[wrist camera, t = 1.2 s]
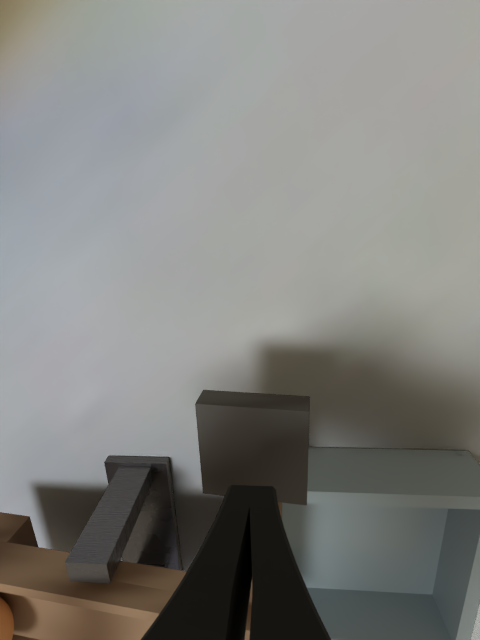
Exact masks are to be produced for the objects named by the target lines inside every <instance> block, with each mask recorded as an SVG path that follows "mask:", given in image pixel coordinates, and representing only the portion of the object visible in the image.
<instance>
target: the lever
mask: <svg viewBox="0 0 480 640" xmlns="http://www.w3.org/2000/svg"><path fill="white" fill-rule="evenodd" d="M195 405H196V417H197V428H198V440H199V451H200V463H201V474H202V486H203V493H205V494H214V495H222V496H225V495H226V492H227V489H228V487H229V486H231V485H249V486H273V487H274V488H275V489H276V494H277V501H278V506H279V510H280V515H281V518H282V503H290V504H298V505H307V486H308V449H309V413H310V397H308V396H292V395H276V394H260V393H244V392H228V391H212V390H203V391H202V393H201V395H200V397H199V398H198V400H197V402H196V404H195ZM69 554H70V552H64V551H58V550H52V549H45V548H39V547H38V544H37V541H36V537H35V534H34V530H33V527H32V523H31V520H30V517H29V516H22V515H15V514H8V513H1V512H0V597H1V598H2V599H3V600H4V601H5V602H6V603H7V604H8V605H9V607H10V609H11V611H12V614H13V619H14V631H13V637H12V640H141V638H142V637H143V636H144V634H145V633H146V632H147V630H148V629H149V628H150V626H151V625H152V624H153V622H154V621H155V619H156V618H157V617H158V615H159V614H160V612H161V611H162V609H163V608H164V607H165V605H166V604H167V602H168V601H169V599H170V598H171V596H172V595H173V593H174V592H175V590H176V588H177V587H178V585H179V584H180V582H181V581H182V579H183V577H184V576H185V574H186V572H187V571H180V570H174V569H168V568H162V567H156V566H150V565H144V564H137V563H131V562H125V561H120V562H119V564H118V567H117V569H116V571H115V574H114V576H113V578H112V581H111V583H94V582H77V581H69V577H68V573H67V569H66V565H65V561H66V559H67V557H68V556H69ZM251 607H252V582H251V591H250V599H249V607H248V616H247V624H246V632H245V640H249V639H250V623H251Z"/></svg>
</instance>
